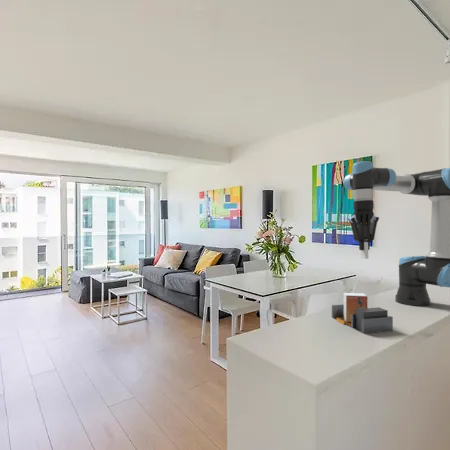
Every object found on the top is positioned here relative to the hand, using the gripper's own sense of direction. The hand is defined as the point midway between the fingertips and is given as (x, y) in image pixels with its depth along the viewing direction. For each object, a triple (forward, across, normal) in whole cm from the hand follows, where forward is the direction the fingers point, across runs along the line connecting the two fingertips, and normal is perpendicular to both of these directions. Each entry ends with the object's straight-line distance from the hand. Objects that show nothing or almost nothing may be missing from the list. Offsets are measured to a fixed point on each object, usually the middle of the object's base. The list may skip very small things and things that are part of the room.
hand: (364, 258), depth 129 cm
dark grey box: (+24, +7, +12) cm, 28 cm away
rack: (+25, +7, +6) cm, 27 cm away
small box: (+24, +7, +2) cm, 25 cm away
